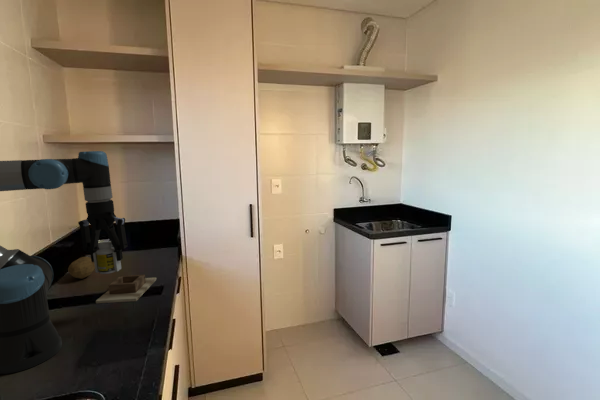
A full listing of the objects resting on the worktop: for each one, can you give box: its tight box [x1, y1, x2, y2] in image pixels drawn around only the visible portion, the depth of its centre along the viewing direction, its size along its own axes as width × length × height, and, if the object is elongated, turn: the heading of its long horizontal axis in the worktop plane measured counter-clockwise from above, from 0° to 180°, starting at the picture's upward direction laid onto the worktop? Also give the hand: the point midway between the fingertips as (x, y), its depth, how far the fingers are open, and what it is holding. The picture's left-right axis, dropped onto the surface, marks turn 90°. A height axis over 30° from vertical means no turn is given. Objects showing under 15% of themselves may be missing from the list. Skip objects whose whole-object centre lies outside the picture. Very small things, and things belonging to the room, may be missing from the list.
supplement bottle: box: [97, 240, 116, 275], centre depth 105 cm, size 5×5×10 cm
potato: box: [67, 256, 95, 280], centre depth 142 cm, size 10×14×8 cm
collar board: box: [95, 273, 157, 304], centre depth 126 cm, size 20×14×4 cm
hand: (108, 270), depth 106 cm, fingers closed on supplement bottle, 5 cm apart
